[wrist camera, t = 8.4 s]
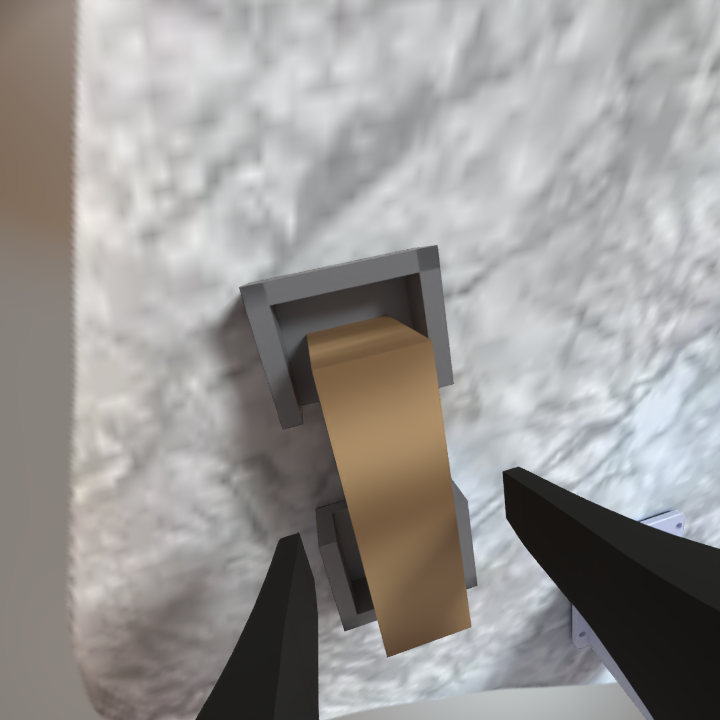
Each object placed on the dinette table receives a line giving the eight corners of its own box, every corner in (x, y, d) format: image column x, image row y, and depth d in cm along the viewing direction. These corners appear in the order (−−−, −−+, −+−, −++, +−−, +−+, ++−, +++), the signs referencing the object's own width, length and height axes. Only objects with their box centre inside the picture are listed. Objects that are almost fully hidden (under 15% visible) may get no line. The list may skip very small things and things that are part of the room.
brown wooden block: (425, 531, 18) (471, 627, 13) (362, 551, 18) (387, 657, 13) (386, 314, 14) (432, 340, 10) (306, 333, 14) (312, 370, 9)
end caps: (456, 548, 20) (477, 585, 17) (338, 586, 19) (344, 631, 16) (414, 247, 14) (437, 245, 12) (248, 283, 13) (238, 287, 11)
